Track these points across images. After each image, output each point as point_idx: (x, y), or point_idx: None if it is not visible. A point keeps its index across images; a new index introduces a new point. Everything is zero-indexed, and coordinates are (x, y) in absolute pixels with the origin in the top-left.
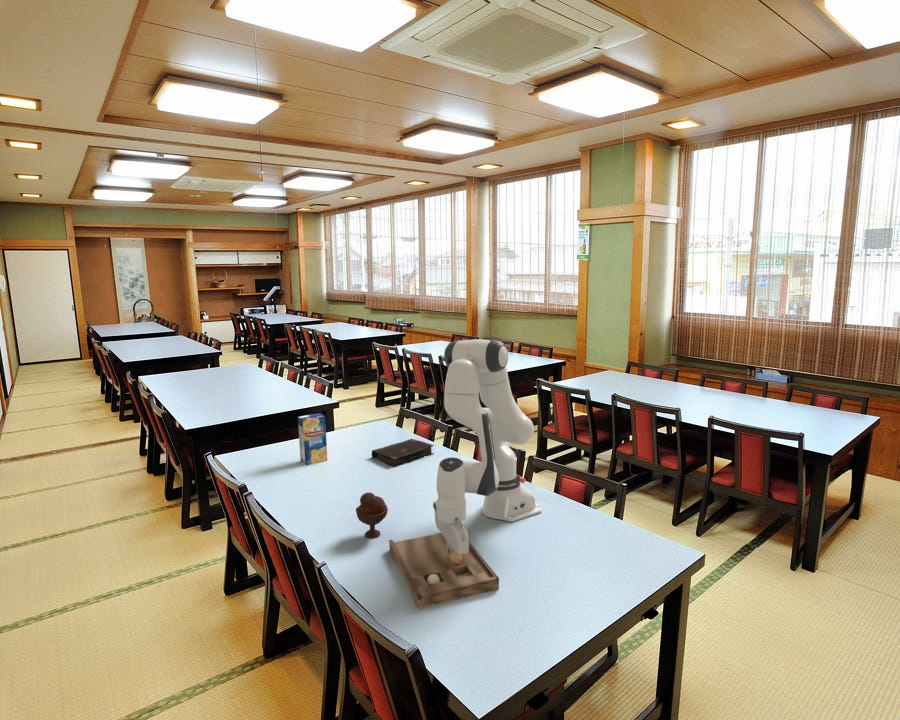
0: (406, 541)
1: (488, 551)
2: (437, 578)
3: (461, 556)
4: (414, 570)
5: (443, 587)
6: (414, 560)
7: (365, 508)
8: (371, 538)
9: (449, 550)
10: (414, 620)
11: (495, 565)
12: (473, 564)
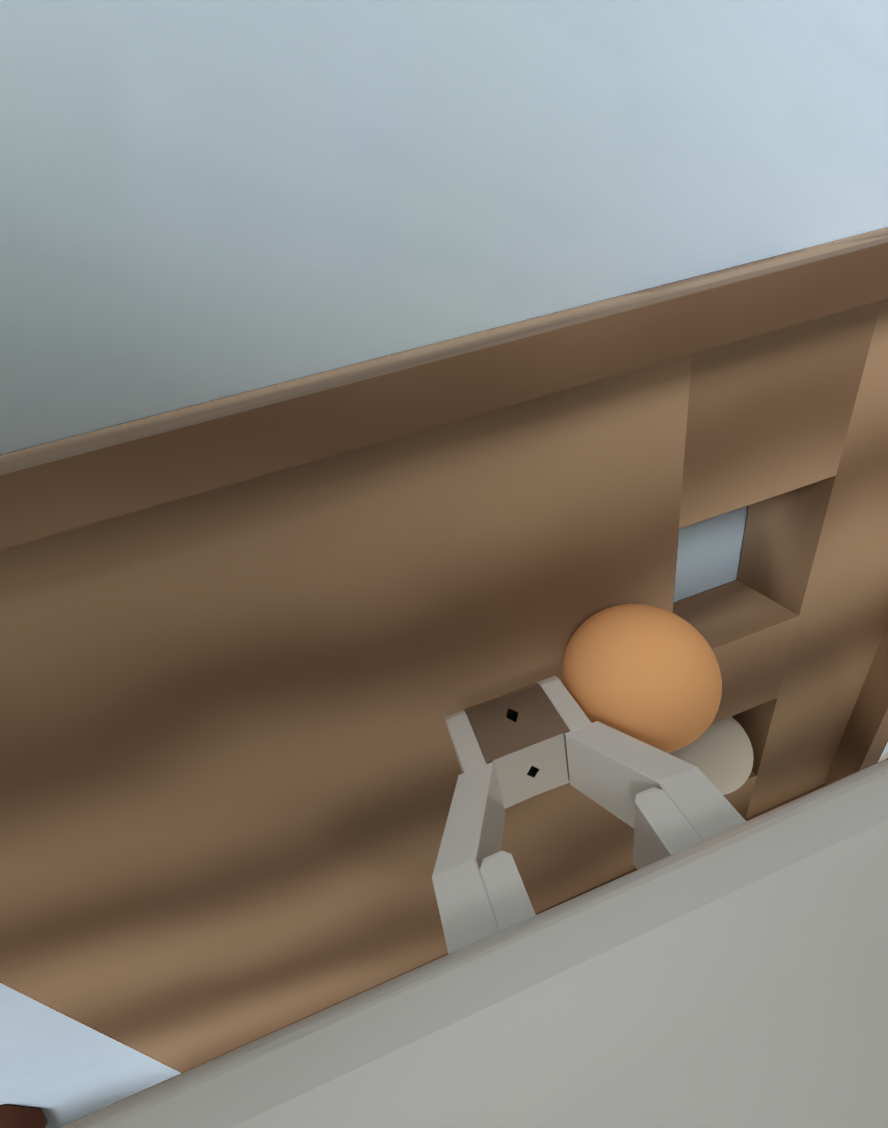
0: (147, 1026)
1: (99, 7)
2: (748, 747)
3: (695, 638)
4: (587, 867)
5: (825, 696)
6: None
7: None
8: (42, 1115)
9: (558, 782)
10: None
11: (577, 52)
12: (686, 452)
